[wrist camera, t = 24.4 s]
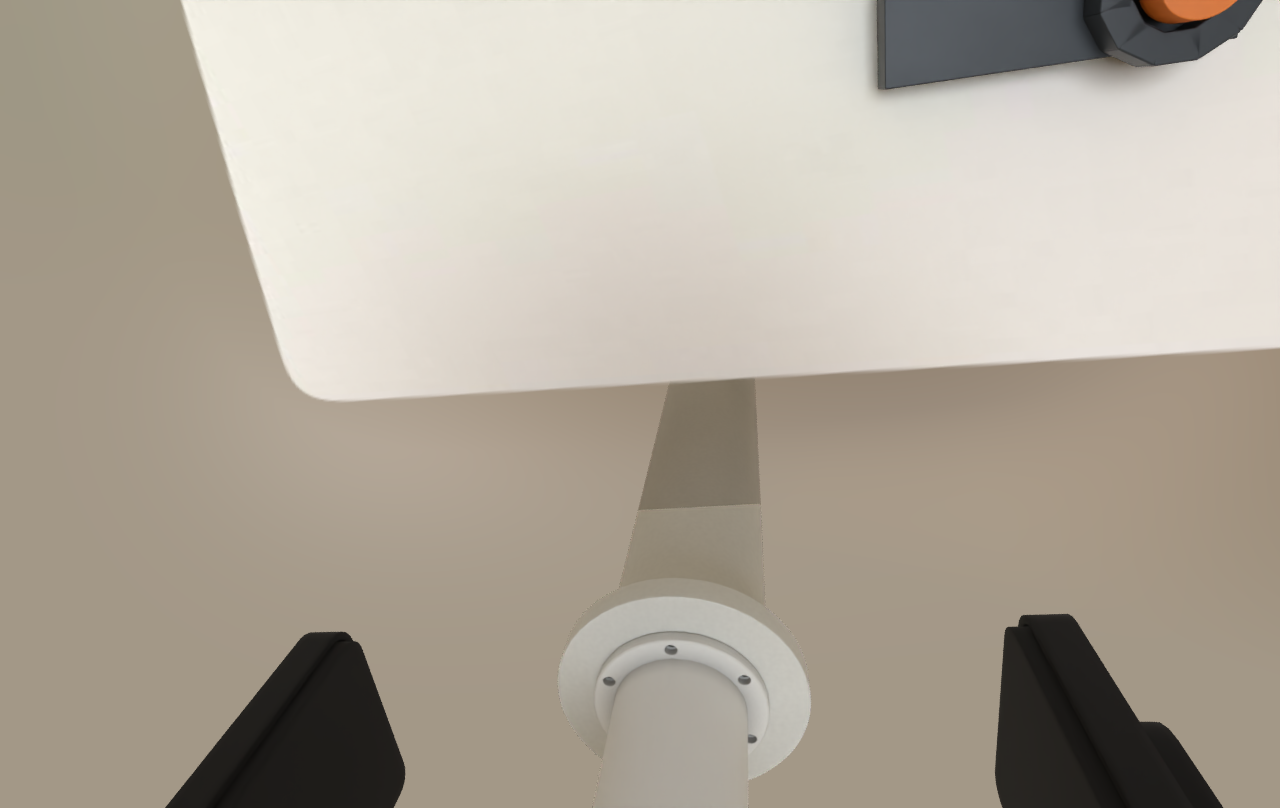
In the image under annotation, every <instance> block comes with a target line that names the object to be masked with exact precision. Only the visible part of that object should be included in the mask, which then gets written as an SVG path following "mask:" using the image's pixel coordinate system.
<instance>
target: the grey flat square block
mask: <svg viewBox="0 0 1280 808" xmlns="http://www.w3.org/2000/svg"><path fill="white" fill-rule="evenodd" d="M1261 2H1262V0H1237V1H1236V2H1235V3H1234V4H1233V5H1232V6H1230V7H1229V8H1228V9H1226V10H1225V11H1223V12H1221V13H1220V14H1218V15H1216V16H1213V17H1211V18H1208V19H1203V20H1197V21H1191V22H1184V23H1177V24H1165V23H1160V22H1158V21H1155V20H1154V19H1152V18H1150V17H1149V16H1148V15H1147V14H1146V13H1145V12H1144V10H1143V8H1142V7H1141V4H1140V1H1139V0H877V41H878V89H892V88H899V87H906V86H913V85H920V84H927V83H933V82H940V81H947V80H954V79H961V78H968V77H974V76H981V75H988V74H995V73H1002V72H1009V71H1015V70H1022V69H1029V68H1036V67H1043V66H1050V65H1057V64H1063V63H1070V62H1077V61H1084V60H1091V59H1098V58H1104V57H1111V56H1113V57H1115V58H1117V59H1119V60H1121V61H1123V62H1126V63H1128V64H1130V65H1132V66H1135V67H1144V66H1158V65H1165V64H1172V63H1179V62H1186V61H1193V60H1198V59H1199V58H1201V57H1203V56H1204V55H1206V54H1207V53H1209V52H1210V51H1212V50H1213V49H1215V48H1216V47H1218V46H1219V45H1221V44H1222V43H1224V42H1226V41H1227V40H1229V39H1234V38H1237V35H1238V33H1239V32H1240V30H1242V29H1243V28H1244V27H1245V25H1246V24H1247V22H1248V21H1249V19H1250V18H1251V16H1252V15H1253V13H1254V12H1255V11H1256V9H1257V8H1258V6H1259V5H1260V3H1261Z"/></svg>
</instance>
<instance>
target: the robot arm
mask: <svg viewBox="0 0 1280 808" xmlns="http://www.w3.org/2000/svg"><path fill="white" fill-rule="evenodd" d="M594 707H595V711H596V716H597V718H598V720H599V722H600V724H601V727H602V728H603V730H604V731H605V732H606V734H607V739H606V744H605V749H604V753H603V758H602V763H601V768H600V773H599V777H598V783H597V787H596V792H595V797H594V802H593V806H592V808H748V755H749V754H750V753H751V752H752V751H753V750H754V749H755V748H756V747H757V746H758V745H759V744H760V742H761V740H762V739H763V737H764V736H765V734H766V731H767V728H768V724H769V716H770V706H769V695H768V691H767V688H766V686H765V683H764V680H763V679H762V677H761V676H760V674H759V672H758V671H757V669H756V668H755V667H754V666H753V665H752V664H751V663H750V662H749V661H748V660H747V659H746V658H745V657H744V656H743V655H741V654H740V653H739V652H737V651H736V650H734V649H733V648H731V647H729V646H727V645H725V644H723V643H721V642H720V641H718V640H715V639H711V638H708V637H705V636H702V635H697V634H691V633H685V632H662V633H655V634H649V635H646V636H643V637H639V638H636V639H634V640H632V641H630V642H628V643H626V644H624V645H622V646H621V647H620V648H618V649H617V650H616V651H615V652H614V653H612V654H611V655H610V656H609V658H608V659H607V660H606V662H605V663H604V664H603V666H602V668H601V670H600V672H599V675H598V677H597V682H596V686H595V690H594ZM995 766H996V767H995V776H996V777H995V778H996V785H997V790H998V794H999V798H1000V802H1001V805H1002V807H1003V808H1223V807H1222V805H1221V804H1220V802H1219V801H1218V799H1217V798H1216V796H1215V795H1214V793H1213V792H1212V790H1211V789H1210V787H1209V786H1208V784H1207V783H1206V781H1205V780H1204V778H1203V777H1202V775H1201V774H1200V772H1199V771H1198V769H1197V768H1196V766H1195V765H1194V763H1193V762H1192V760H1191V759H1190V757H1189V756H1188V754H1187V753H1186V751H1185V750H1184V748H1183V747H1182V745H1181V744H1180V742H1179V741H1178V740H1177V738H1176V737H1175V736H1174V735H1173V733H1172V732H1171V731H1170V730H1169V729H1168V728H1167V727H1166V726H1164V725H1162V724H1161V723H1160V722H1139V720H1138V719H1137V717H1136V716H1135V714H1134V712H1133V711H1132V709H1131V708H1130V706H1129V704H1128V703H1127V701H1126V700H1125V698H1124V697H1123V695H1122V693H1121V692H1120V690H1119V688H1118V687H1117V685H1116V684H1115V682H1114V680H1113V679H1112V677H1111V676H1110V674H1109V673H1108V671H1107V669H1106V668H1105V666H1104V664H1103V663H1102V661H1101V660H1100V658H1099V657H1098V655H1097V653H1096V652H1095V650H1094V649H1093V647H1092V646H1091V644H1090V642H1089V641H1088V639H1087V637H1086V636H1085V634H1084V633H1083V631H1082V629H1081V628H1080V626H1079V625H1078V623H1077V622H1076V620H1075V619H1074V618H1073V617H1072V616H1070V615H1069V614H1049V615H1023V616H1021V618H1020V620H1019V625H1018V627H1007V628H1006V630H1005V635H1004V650H1003V664H1002V678H1001V693H1000V708H999V722H998V736H997V751H996V765H995ZM404 780H405V766H404V762H403V759H402V757H401V754H400V751H399V748H398V746H397V743H396V741H395V738H394V735H393V732H392V729H391V727H390V724H389V721H388V718H387V716H386V713H385V710H384V707H383V705H382V702H381V699H380V696H379V694H378V691H377V688H376V686H375V683H374V680H373V677H372V675H371V672H370V669H369V666H368V664H367V661H366V658H365V655H364V653H363V650H362V648H361V646H360V644H359V643H358V642H355V641H353V640H352V638H351V636H350V635H349V634H347V633H346V632H315V633H308V634H306V635H304V636H303V637H302V638H301V639H300V640H299V641H298V642H297V644H296V645H295V646H294V648H293V649H292V650H291V651H290V653H289V654H288V655H287V656H286V657H285V659H284V660H283V661H282V663H281V664H280V665H279V666H278V667H277V669H276V670H275V671H274V672H273V674H272V675H271V676H270V677H269V679H268V680H267V681H266V683H265V684H264V685H263V686H262V687H261V689H260V690H259V691H258V692H257V694H256V695H255V696H254V698H253V699H252V700H251V701H250V702H249V704H248V705H247V706H246V707H245V709H244V710H243V711H242V712H241V714H240V715H239V717H238V718H237V719H236V720H235V721H234V722H233V724H232V725H231V726H230V727H229V729H228V730H227V731H226V732H225V734H224V735H223V736H222V738H221V739H220V740H219V741H218V742H217V744H216V745H215V746H214V748H213V749H212V750H211V751H210V752H209V754H208V755H207V756H206V758H205V759H204V760H203V761H202V762H201V764H200V765H199V766H198V767H197V769H196V770H195V771H194V773H193V774H192V775H191V776H190V778H189V779H188V780H187V781H186V783H185V784H184V785H183V786H182V787H181V789H180V790H179V791H178V792H177V794H176V795H175V796H174V798H173V799H172V800H171V801H170V802H169V804H168V805H167V806H166V807H165V808H394V806H395V804H396V802H397V800H398V798H399V796H400V794H401V791H402V788H403V785H404Z"/></svg>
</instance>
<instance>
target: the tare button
mask: <svg viewBox="0 0 1280 808" xmlns="http://www.w3.org/2000/svg"><path fill="white" fill-rule="evenodd" d="M1139 1H1140V4H1141V7H1142V8H1143V10H1144V12H1145V13H1146V14H1147V15H1148V16H1149V17H1150V18H1152V19H1154V20H1155V21H1158V22H1160V23H1165V24H1177V23H1184V22H1191V21H1197V20H1203V19H1208V18H1211V17H1213V16H1216V15H1218V14H1220V13H1221V12H1223V11H1225V10H1226V9H1228V8H1229V7H1230V6H1232V5H1233V4H1234V3H1235V2H1236V1H1237V0H1139Z"/></svg>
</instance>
